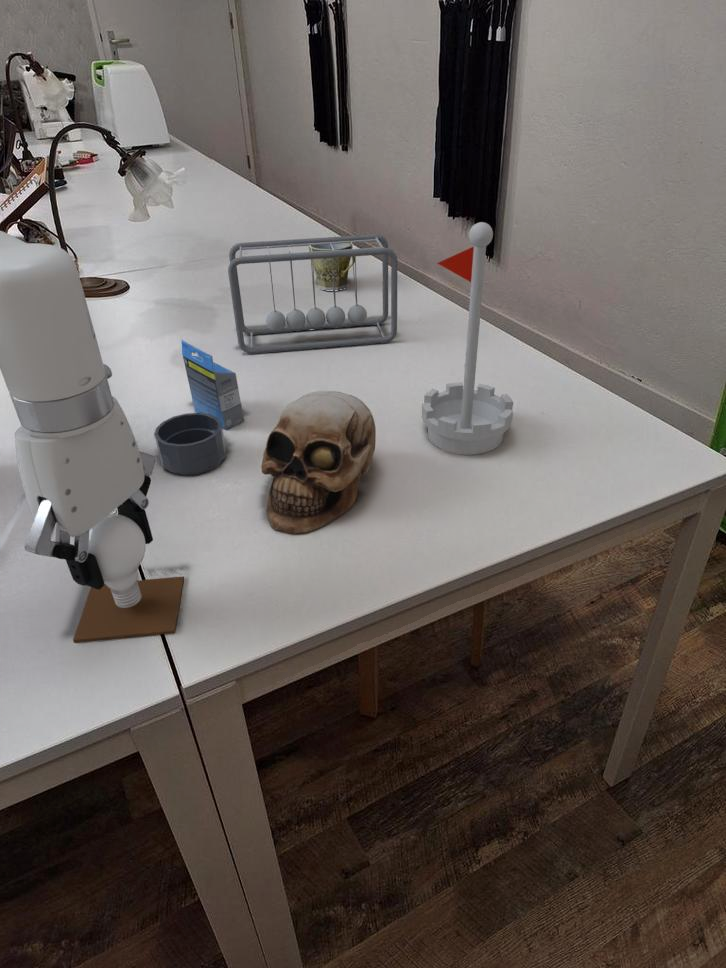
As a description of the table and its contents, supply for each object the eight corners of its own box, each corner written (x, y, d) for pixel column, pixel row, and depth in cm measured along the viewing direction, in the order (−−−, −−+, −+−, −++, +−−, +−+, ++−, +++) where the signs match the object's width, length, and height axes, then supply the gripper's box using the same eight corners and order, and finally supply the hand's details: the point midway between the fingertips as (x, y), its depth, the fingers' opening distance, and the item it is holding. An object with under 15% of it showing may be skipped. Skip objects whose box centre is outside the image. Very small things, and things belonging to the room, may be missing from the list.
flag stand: (511, 417, 100) (536, 211, 83) (508, 462, 90) (537, 238, 73) (426, 410, 103) (434, 208, 86) (415, 454, 92) (421, 234, 75)
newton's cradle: (387, 323, 133) (387, 232, 123) (397, 342, 125) (398, 247, 115) (240, 334, 130) (227, 243, 120) (239, 355, 122) (226, 259, 112)
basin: (157, 479, 89) (149, 448, 86) (166, 444, 96) (159, 415, 93) (224, 474, 89) (218, 443, 87) (228, 440, 97) (223, 410, 94)
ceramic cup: (302, 287, 153) (299, 243, 147) (335, 277, 158) (333, 235, 153) (338, 300, 145) (336, 255, 139) (371, 290, 150) (370, 245, 145)
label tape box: (245, 421, 101) (234, 347, 94) (223, 431, 99) (211, 356, 92) (213, 403, 106) (201, 331, 99) (192, 412, 104) (178, 339, 97)
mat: (73, 642, 65) (72, 640, 65) (92, 587, 72) (91, 584, 72) (175, 633, 66) (174, 630, 66) (184, 578, 73) (183, 576, 72)
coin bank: (271, 538, 78) (261, 435, 71) (257, 473, 92) (248, 383, 86) (397, 520, 81) (399, 420, 74) (365, 460, 95) (364, 372, 89)
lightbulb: (172, 601, 68) (150, 519, 62) (117, 635, 65) (88, 551, 58) (140, 573, 72) (116, 493, 66) (86, 604, 68) (56, 522, 62)
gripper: (102, 354, 62) (142, 504, 73) (-58, 442, 50) (19, 609, 60) (165, 367, 60) (198, 520, 70) (14, 463, 47) (81, 633, 57)
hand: (115, 559), depth 65 cm, fingers closed on lightbulb, 6 cm apart
